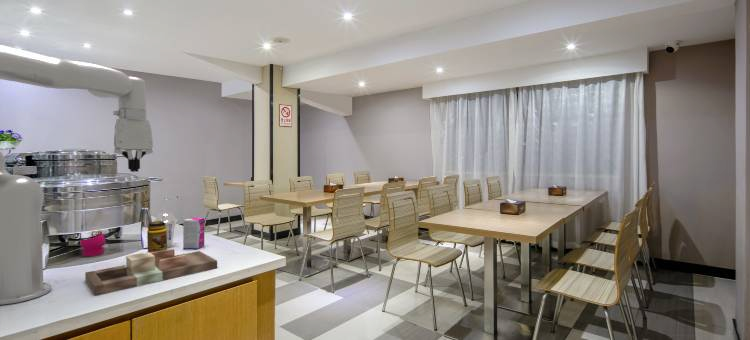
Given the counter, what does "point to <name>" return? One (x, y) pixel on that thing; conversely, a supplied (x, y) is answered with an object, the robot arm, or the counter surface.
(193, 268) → the board
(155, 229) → the condiment
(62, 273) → the counter surface
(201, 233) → the supplement box
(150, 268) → the maple block
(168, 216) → the cup with straw
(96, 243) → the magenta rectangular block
